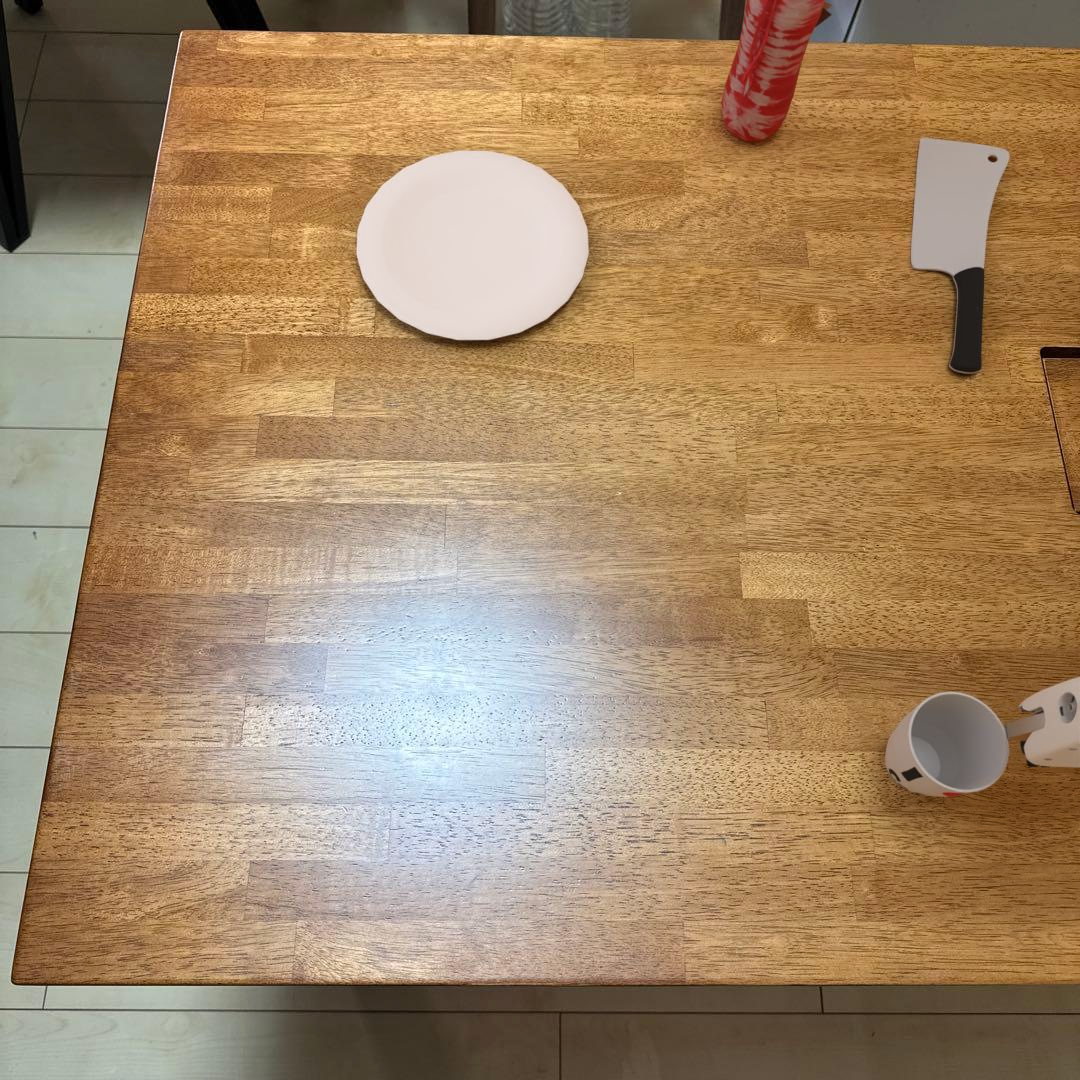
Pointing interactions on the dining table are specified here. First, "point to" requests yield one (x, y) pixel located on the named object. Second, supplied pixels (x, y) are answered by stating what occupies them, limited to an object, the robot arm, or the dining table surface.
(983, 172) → the kitchen cleaver
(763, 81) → the water bottle
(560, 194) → the plate
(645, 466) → the dining table surface
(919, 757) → the cup
